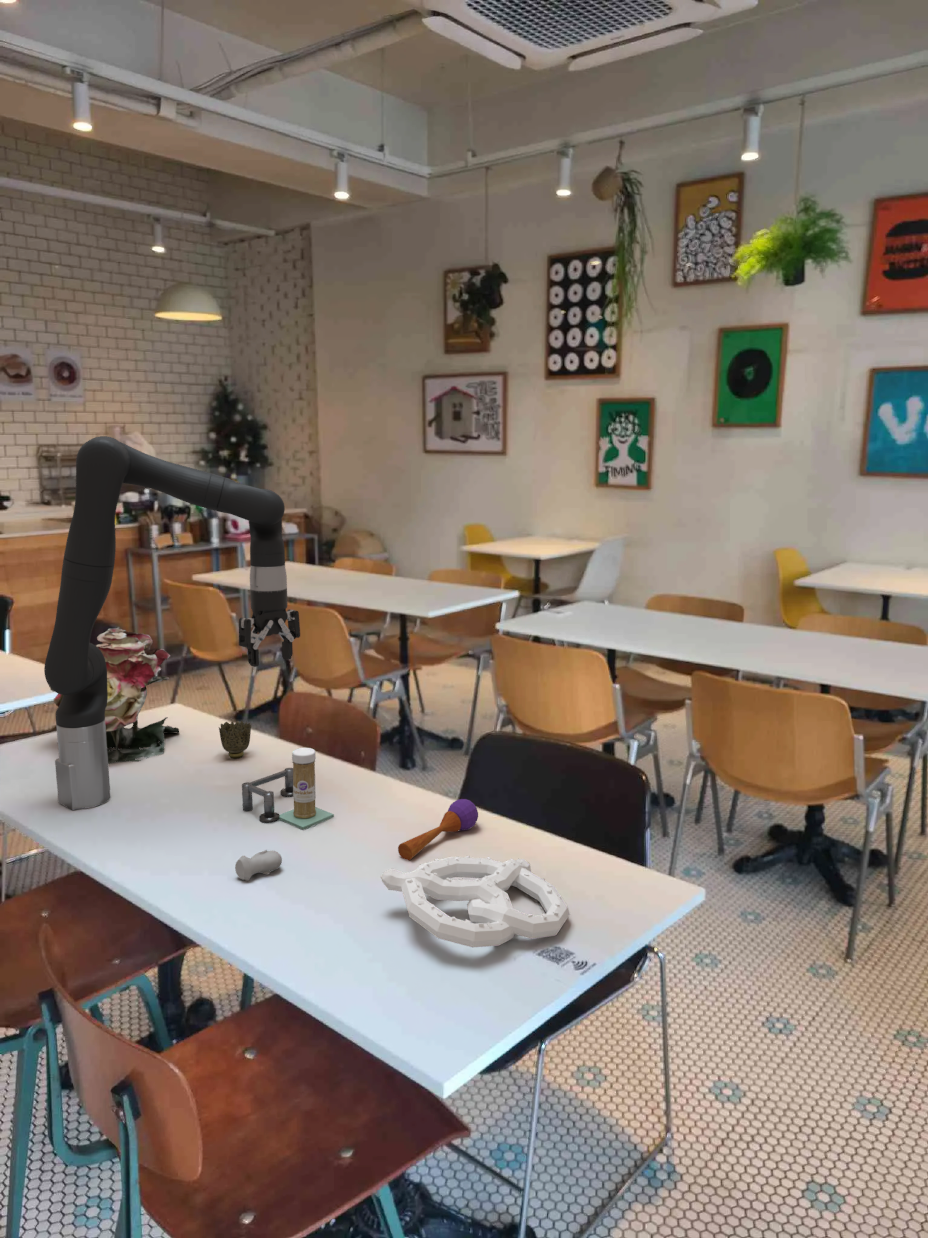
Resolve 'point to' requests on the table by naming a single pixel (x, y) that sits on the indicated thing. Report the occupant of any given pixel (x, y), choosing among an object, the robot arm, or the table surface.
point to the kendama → (443, 827)
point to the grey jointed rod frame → (267, 794)
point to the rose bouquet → (130, 694)
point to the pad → (305, 822)
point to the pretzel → (478, 899)
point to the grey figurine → (258, 864)
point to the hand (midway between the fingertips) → (271, 662)
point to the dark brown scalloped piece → (235, 738)
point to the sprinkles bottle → (304, 782)
